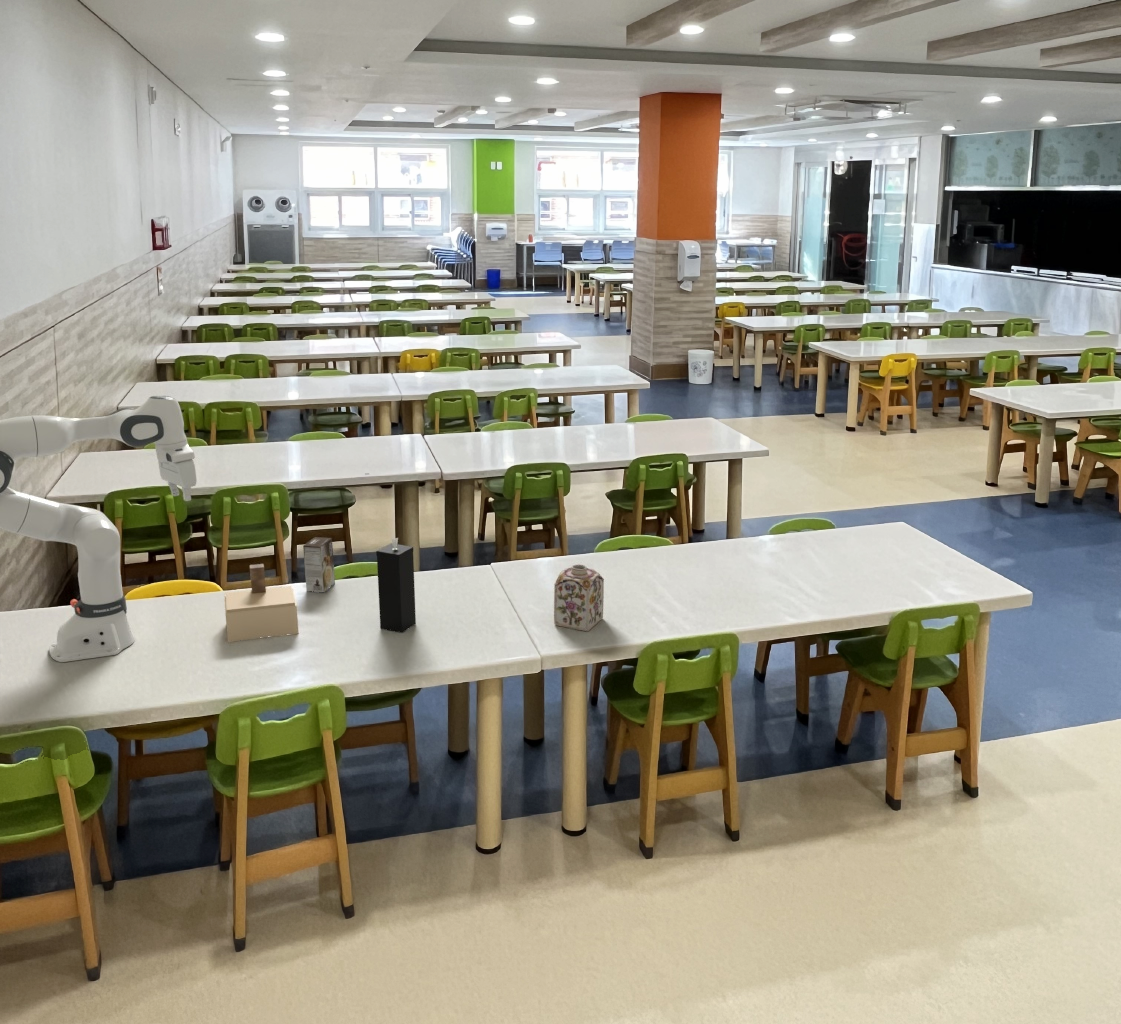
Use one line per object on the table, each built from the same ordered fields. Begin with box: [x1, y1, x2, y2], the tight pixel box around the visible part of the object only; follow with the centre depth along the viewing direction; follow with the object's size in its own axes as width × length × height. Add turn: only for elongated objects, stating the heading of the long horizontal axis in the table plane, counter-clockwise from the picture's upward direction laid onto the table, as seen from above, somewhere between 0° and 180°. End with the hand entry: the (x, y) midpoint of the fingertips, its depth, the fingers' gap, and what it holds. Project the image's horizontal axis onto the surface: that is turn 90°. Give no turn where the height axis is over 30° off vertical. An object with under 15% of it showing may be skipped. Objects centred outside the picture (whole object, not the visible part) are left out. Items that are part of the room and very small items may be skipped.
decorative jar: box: [553, 563, 605, 632], centre depth 325 cm, size 12×12×18 cm
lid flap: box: [225, 563, 296, 613], centre depth 318 cm, size 19×14×9 cm
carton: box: [223, 588, 299, 643], centre depth 321 cm, size 20×14×9 cm
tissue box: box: [375, 537, 417, 634], centre depth 320 cm, size 8×8×28 cm
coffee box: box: [302, 536, 336, 593], centre depth 352 cm, size 9×6×16 cm
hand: (181, 498), depth 312 cm, fingers open, 8 cm apart
